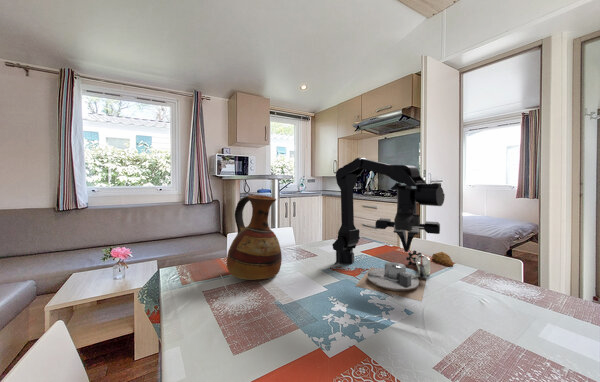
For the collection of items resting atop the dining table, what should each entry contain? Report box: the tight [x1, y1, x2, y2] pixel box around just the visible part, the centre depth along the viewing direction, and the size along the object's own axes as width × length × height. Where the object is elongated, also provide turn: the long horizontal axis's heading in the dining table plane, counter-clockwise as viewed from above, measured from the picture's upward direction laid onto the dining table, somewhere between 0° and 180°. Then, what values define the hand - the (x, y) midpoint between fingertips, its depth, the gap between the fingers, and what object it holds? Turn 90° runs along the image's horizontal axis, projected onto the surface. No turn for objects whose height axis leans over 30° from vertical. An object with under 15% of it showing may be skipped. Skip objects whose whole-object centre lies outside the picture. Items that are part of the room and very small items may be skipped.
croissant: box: [431, 251, 454, 268], centre depth 98 cm, size 14×7×5 cm, turn 176°
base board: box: [354, 267, 427, 302], centre depth 79 cm, size 19×19×1 cm
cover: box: [384, 261, 407, 282], centre depth 77 cm, size 7×7×4 cm
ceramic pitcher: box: [226, 193, 283, 281], centre depth 88 cm, size 20×20×30 cm
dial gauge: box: [414, 254, 429, 281], centre depth 81 cm, size 4×3×8 cm
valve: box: [405, 250, 431, 276], centre depth 89 cm, size 7×7×12 cm
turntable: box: [367, 267, 419, 291], centre depth 79 cm, size 16×16×5 cm
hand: (406, 251), depth 78 cm, fingers closed
